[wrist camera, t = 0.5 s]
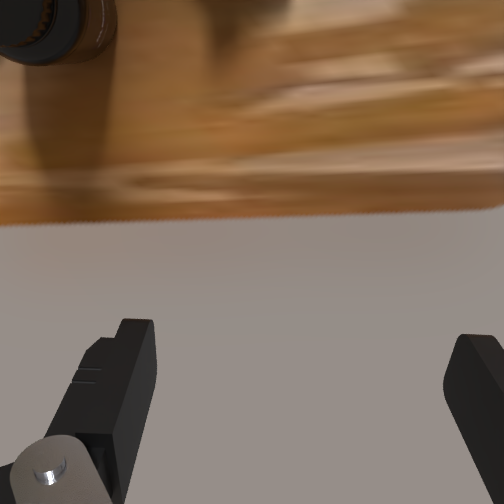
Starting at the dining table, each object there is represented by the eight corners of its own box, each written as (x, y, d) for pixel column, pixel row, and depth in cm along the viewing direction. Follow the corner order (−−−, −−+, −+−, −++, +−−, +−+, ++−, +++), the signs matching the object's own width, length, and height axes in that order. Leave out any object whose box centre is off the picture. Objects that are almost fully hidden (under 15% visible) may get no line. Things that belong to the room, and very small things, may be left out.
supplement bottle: (136, 36, 34) (93, 35, 23) (58, 77, 35) (-20, 95, 24) (84, -66, 31) (7, -122, 20) (0, -18, 32) (-117, -47, 21)
